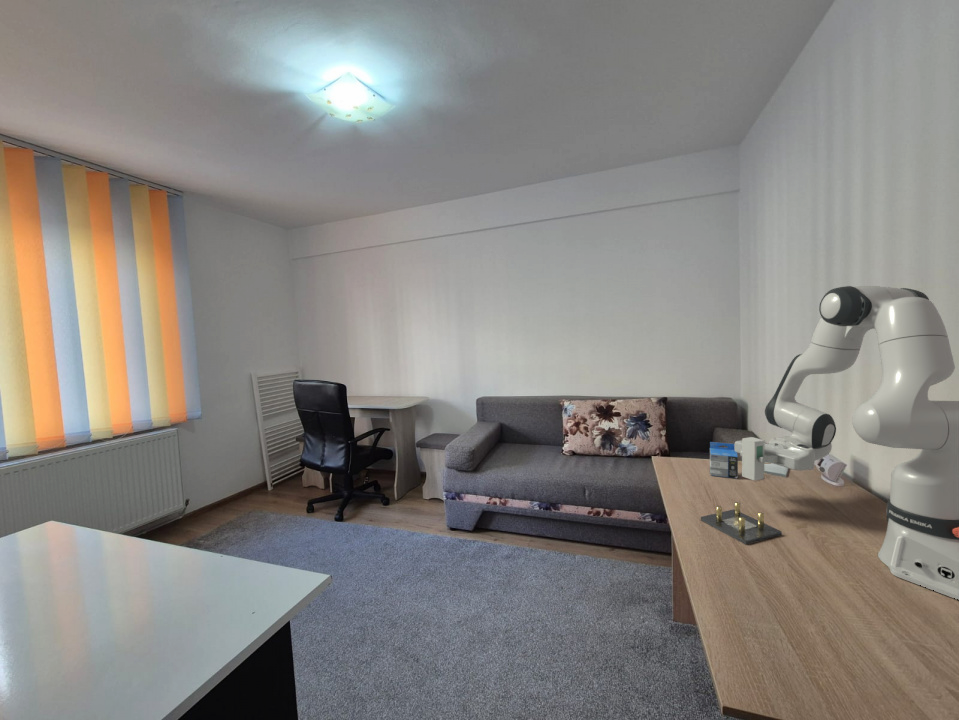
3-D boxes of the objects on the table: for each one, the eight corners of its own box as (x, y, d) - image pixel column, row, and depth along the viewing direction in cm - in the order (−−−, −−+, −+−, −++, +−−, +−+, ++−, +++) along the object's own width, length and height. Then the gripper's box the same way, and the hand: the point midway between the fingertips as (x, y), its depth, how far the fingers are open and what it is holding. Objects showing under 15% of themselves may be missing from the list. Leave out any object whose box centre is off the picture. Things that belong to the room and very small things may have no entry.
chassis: (781, 535, 104) (782, 517, 104) (745, 544, 100) (745, 526, 100) (734, 512, 118) (734, 496, 117) (700, 520, 114) (700, 503, 113)
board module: (764, 478, 117) (764, 440, 116) (754, 480, 116) (754, 441, 115) (751, 474, 121) (751, 436, 120) (741, 476, 120) (742, 438, 119)
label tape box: (710, 475, 146) (710, 444, 145) (709, 472, 150) (709, 441, 149) (737, 479, 142) (738, 446, 141) (736, 475, 146) (736, 443, 145)
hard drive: (785, 474, 142) (788, 465, 151) (758, 469, 147) (763, 460, 156) (785, 479, 142) (788, 469, 151) (758, 474, 147) (763, 464, 157)
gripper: (752, 433, 131) (720, 438, 127) (820, 450, 112) (785, 456, 108) (752, 451, 132) (720, 457, 128) (819, 471, 112) (785, 478, 108)
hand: (750, 456), depth 118 cm, fingers closed on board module, 4 cm apart
